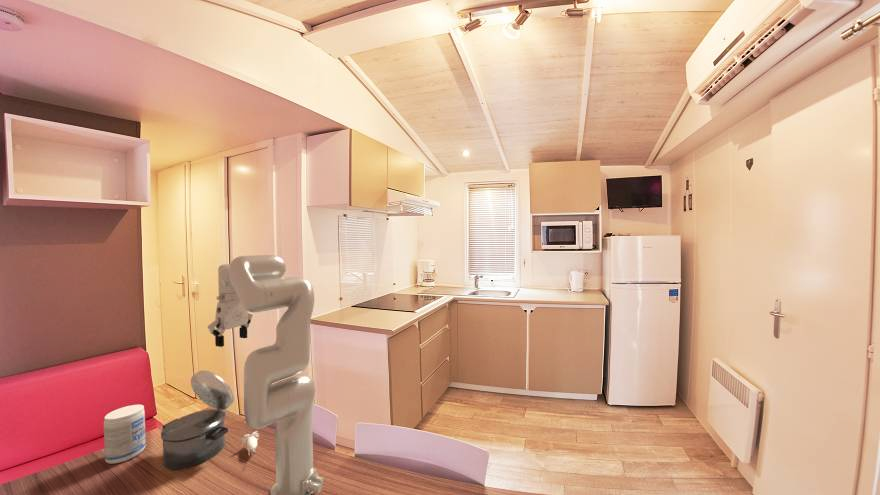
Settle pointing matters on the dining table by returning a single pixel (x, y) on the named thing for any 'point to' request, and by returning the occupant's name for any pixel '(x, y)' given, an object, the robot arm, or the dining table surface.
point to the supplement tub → (124, 433)
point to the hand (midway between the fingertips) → (232, 341)
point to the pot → (193, 439)
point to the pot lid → (212, 390)
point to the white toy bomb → (251, 441)
